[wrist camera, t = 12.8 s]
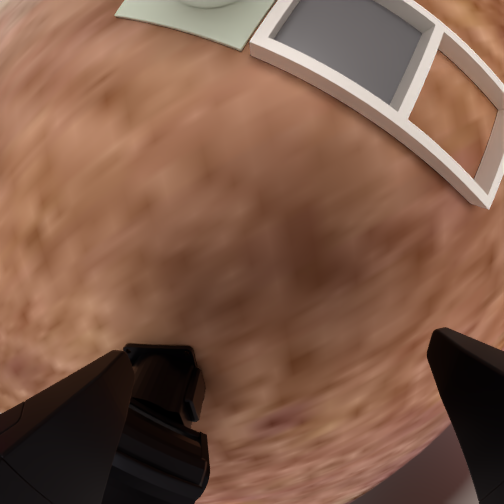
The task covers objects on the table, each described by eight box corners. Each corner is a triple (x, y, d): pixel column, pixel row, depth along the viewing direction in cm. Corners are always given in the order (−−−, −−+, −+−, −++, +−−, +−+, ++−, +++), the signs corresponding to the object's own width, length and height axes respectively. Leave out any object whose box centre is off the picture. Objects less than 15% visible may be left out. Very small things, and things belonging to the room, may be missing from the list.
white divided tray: (504, 109, 15) (522, 108, 13) (470, 203, 18) (488, 209, 16) (186, -66, 11) (180, -81, 9) (116, 17, 14) (102, 5, 12)
